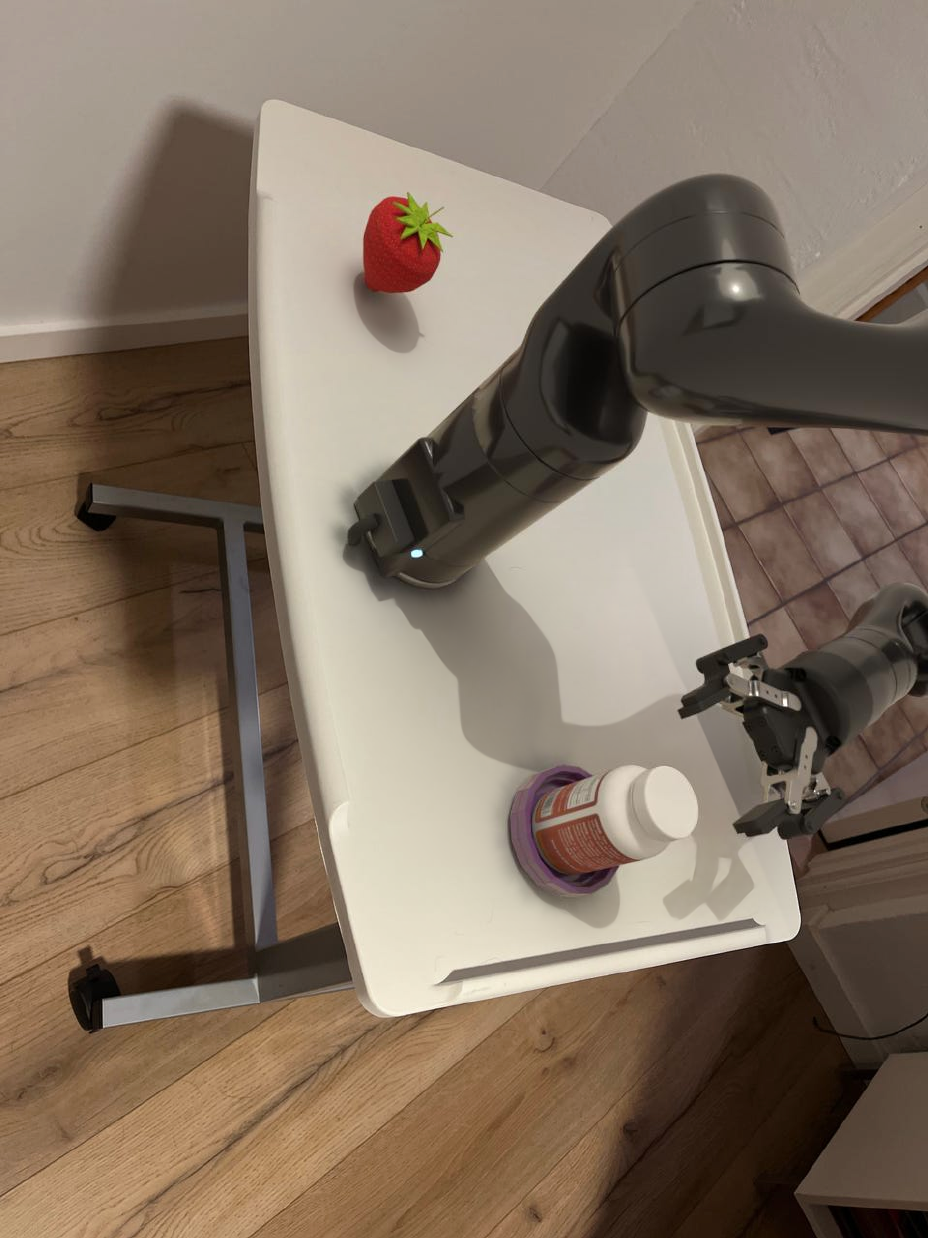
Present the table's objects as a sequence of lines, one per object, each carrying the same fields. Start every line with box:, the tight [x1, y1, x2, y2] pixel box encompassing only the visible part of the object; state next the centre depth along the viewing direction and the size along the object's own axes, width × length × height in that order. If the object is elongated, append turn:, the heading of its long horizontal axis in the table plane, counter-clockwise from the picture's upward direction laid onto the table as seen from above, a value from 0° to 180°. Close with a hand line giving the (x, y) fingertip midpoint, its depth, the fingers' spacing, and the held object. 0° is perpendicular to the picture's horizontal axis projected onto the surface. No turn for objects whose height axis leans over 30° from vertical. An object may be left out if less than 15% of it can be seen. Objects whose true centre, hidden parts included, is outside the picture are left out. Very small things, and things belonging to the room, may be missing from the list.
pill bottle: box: [532, 764, 699, 875], centre depth 61 cm, size 6×6×11 cm
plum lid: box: [509, 764, 621, 898], centre depth 65 cm, size 9×9×2 cm
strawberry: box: [362, 191, 454, 294], centre depth 71 cm, size 6×8×10 cm
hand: (716, 769), depth 61 cm, fingers open, 8 cm apart
